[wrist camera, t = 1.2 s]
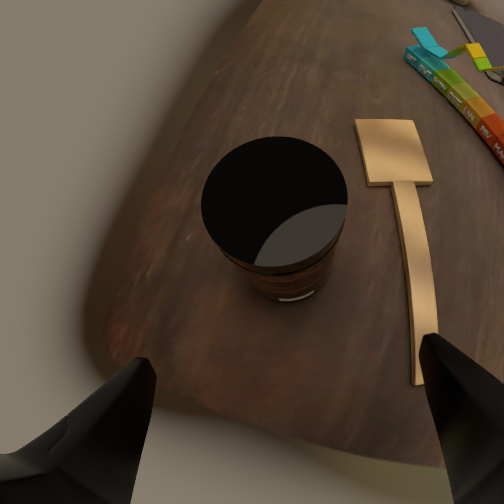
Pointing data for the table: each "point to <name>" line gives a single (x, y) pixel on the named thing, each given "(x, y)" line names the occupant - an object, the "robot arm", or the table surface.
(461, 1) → the bowl
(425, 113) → the table surface
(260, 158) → the supplement container
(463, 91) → the chart
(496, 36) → the notebook
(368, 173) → the spatula
